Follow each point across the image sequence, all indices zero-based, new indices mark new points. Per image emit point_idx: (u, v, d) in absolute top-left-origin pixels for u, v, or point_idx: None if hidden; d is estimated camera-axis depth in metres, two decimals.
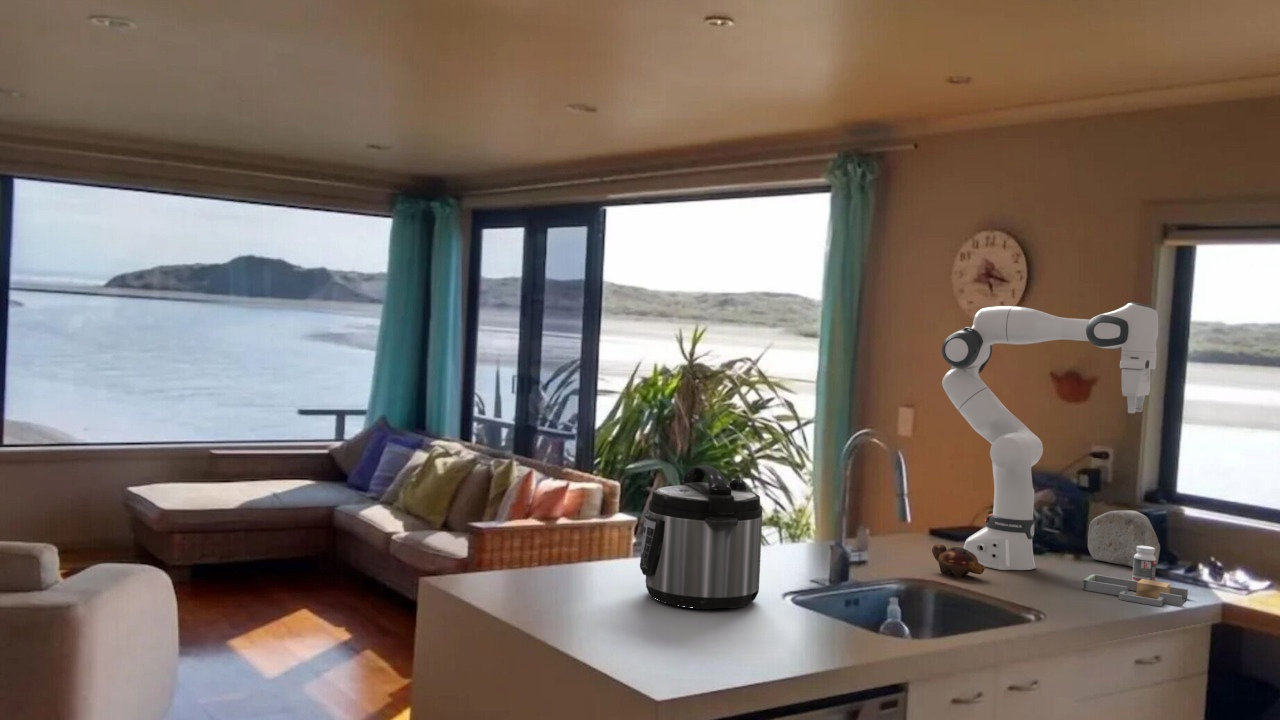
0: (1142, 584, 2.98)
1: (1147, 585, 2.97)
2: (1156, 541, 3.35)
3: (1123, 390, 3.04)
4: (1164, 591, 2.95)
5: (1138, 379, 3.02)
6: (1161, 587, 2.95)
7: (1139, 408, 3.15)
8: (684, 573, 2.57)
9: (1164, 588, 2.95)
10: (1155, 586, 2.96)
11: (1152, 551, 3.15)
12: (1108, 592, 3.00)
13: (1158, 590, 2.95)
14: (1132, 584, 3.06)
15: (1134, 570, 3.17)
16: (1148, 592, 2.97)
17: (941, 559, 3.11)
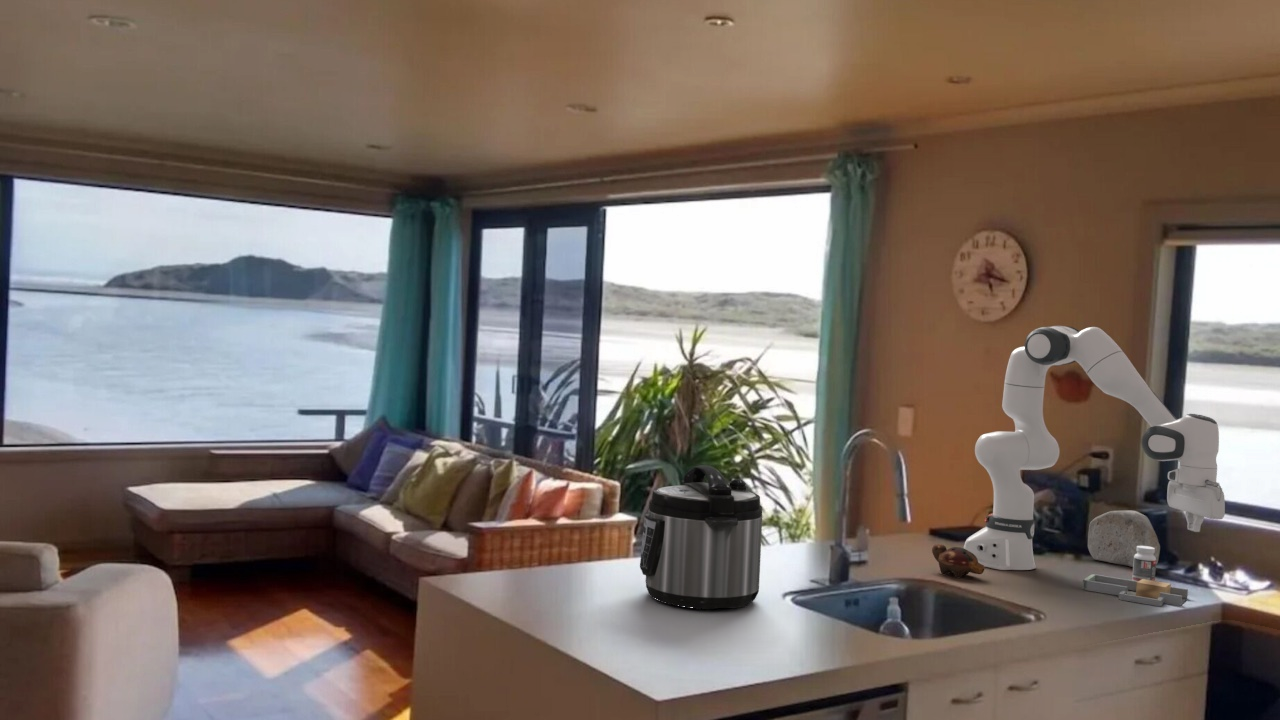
0: (1142, 584, 2.98)
1: (1146, 585, 2.97)
2: (1156, 541, 3.35)
3: None
4: (1163, 591, 2.95)
5: None
6: (1160, 587, 2.95)
7: None
8: (684, 573, 2.57)
9: (1163, 588, 2.95)
10: (1154, 586, 2.96)
11: (1152, 551, 3.15)
12: (1108, 592, 3.00)
13: (1157, 590, 2.95)
14: (1132, 584, 3.06)
15: (1134, 570, 3.17)
16: (1148, 592, 2.97)
17: (941, 559, 3.11)
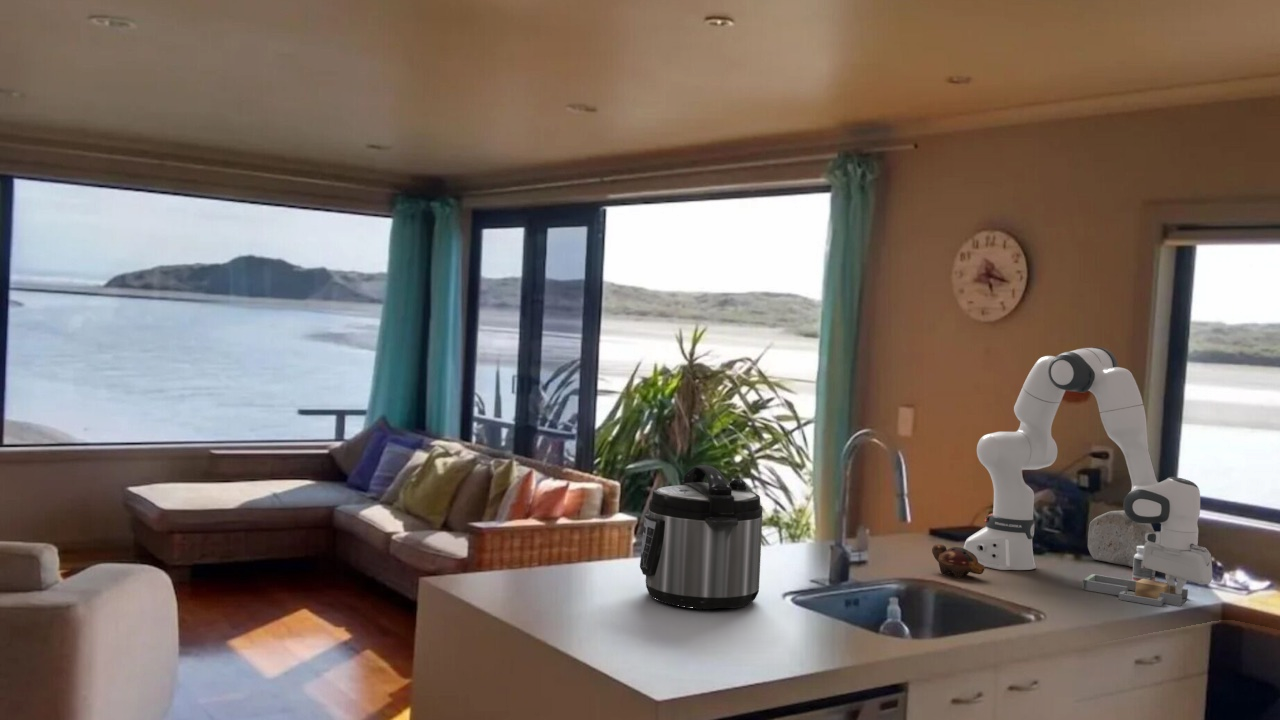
0: (1141, 583, 2.98)
1: (1145, 585, 2.97)
2: None
3: None
4: (1162, 591, 2.95)
5: None
6: (1159, 587, 2.95)
7: None
8: (684, 573, 2.57)
9: (1162, 588, 2.95)
10: (1153, 586, 2.96)
11: None
12: (1108, 592, 3.00)
13: (1156, 590, 2.95)
14: (1132, 584, 3.06)
15: (1134, 570, 3.17)
16: (1147, 591, 2.97)
17: (941, 559, 3.11)
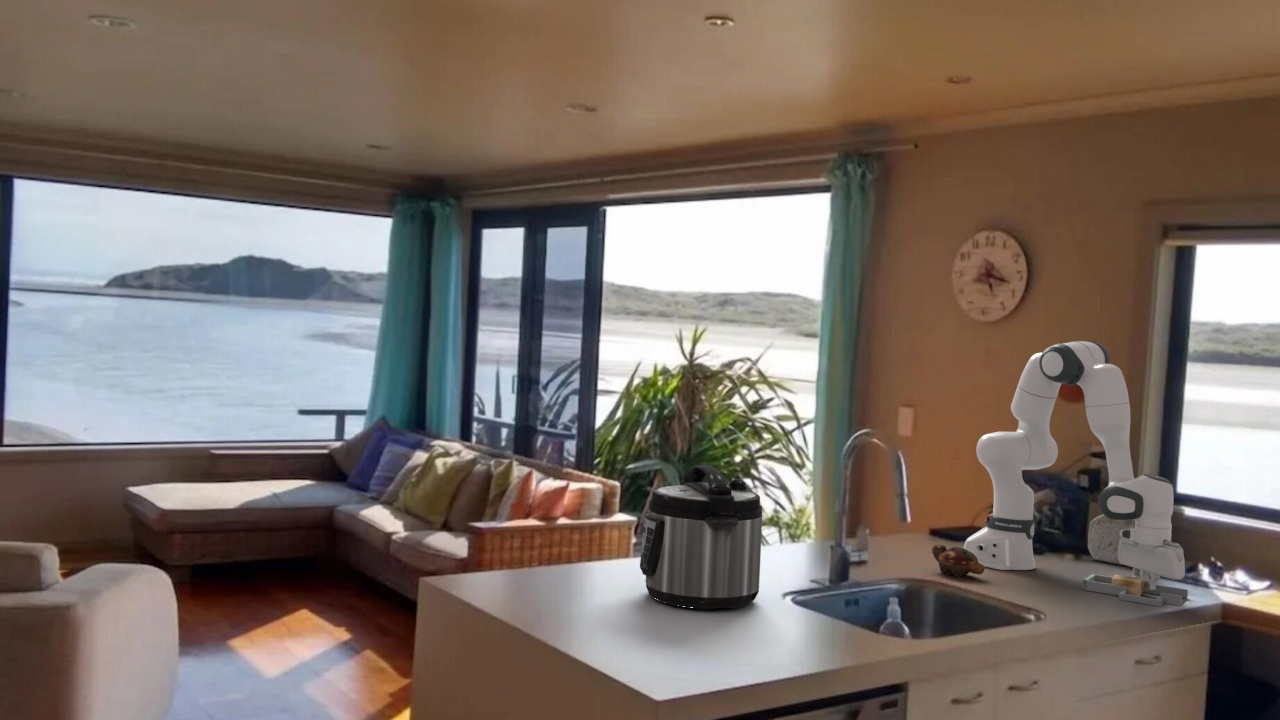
0: (1117, 580, 3.00)
1: (1122, 581, 2.99)
2: None
3: None
4: (1139, 586, 2.97)
5: None
6: (1136, 582, 2.98)
7: None
8: (684, 573, 2.57)
9: (1139, 583, 2.97)
10: (1130, 581, 2.99)
11: None
12: (1108, 592, 3.00)
13: (1133, 585, 2.98)
14: None
15: (1134, 570, 3.17)
16: None
17: (941, 559, 3.11)
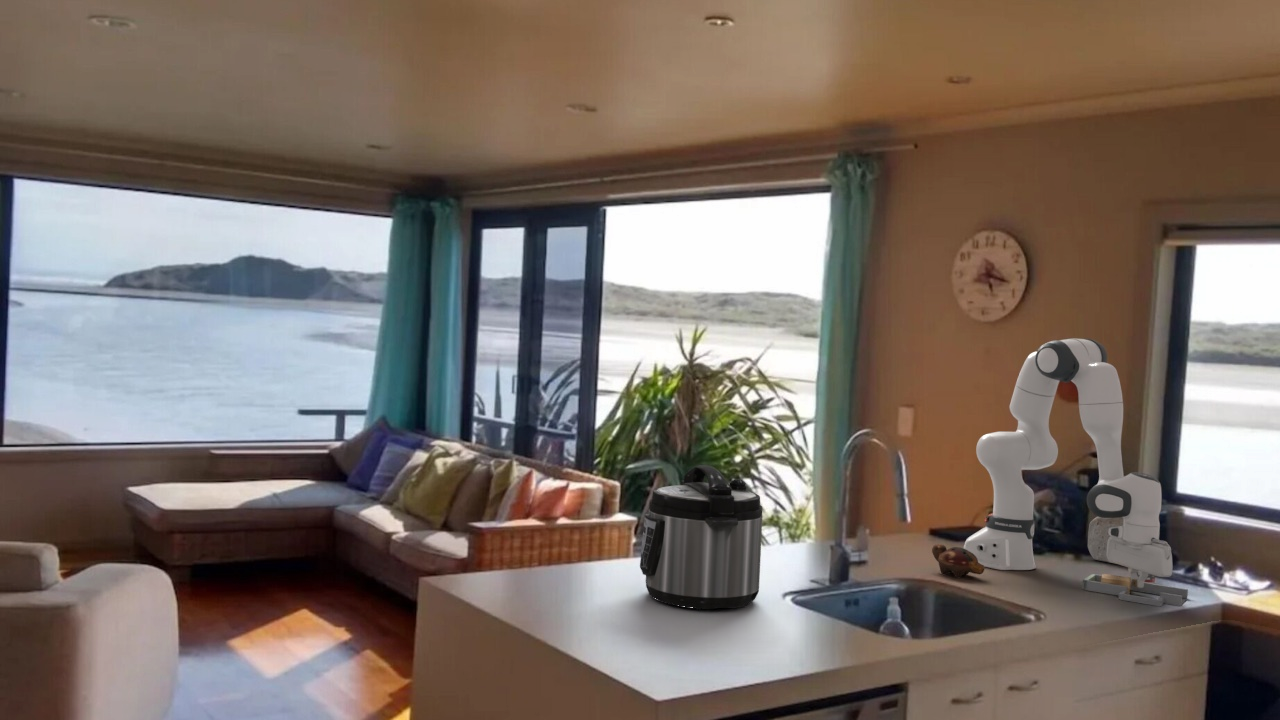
0: (1106, 579, 3.01)
1: (1111, 580, 3.01)
2: None
3: None
4: (1128, 585, 2.99)
5: None
6: (1125, 582, 2.99)
7: None
8: (684, 573, 2.57)
9: (1128, 582, 2.99)
10: (1119, 581, 3.00)
11: None
12: (1108, 592, 3.00)
13: (1122, 585, 3.00)
14: None
15: None
16: None
17: (941, 559, 3.11)
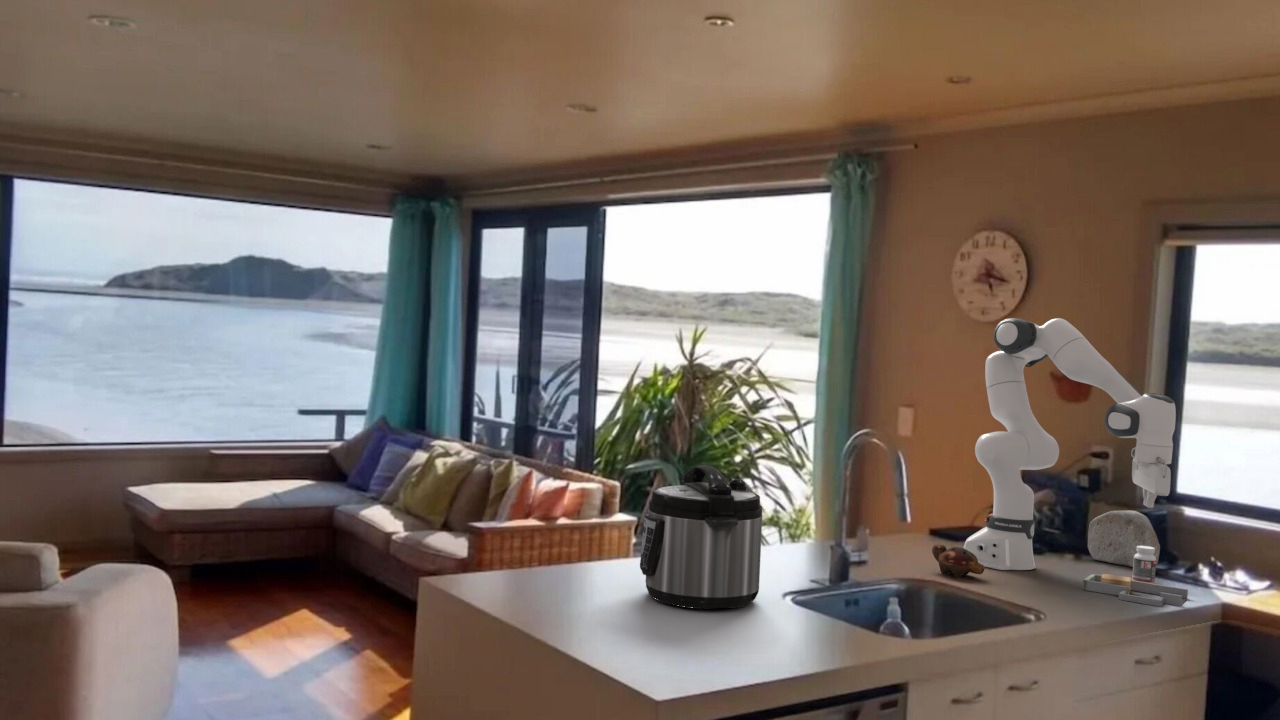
0: (1106, 579, 3.01)
1: (1111, 580, 3.01)
2: (1156, 541, 3.35)
3: None
4: (1128, 585, 2.99)
5: None
6: (1125, 582, 2.99)
7: None
8: (684, 573, 2.57)
9: (1128, 583, 2.99)
10: (1119, 581, 3.00)
11: (1152, 551, 3.15)
12: (1108, 592, 3.00)
13: (1122, 585, 3.00)
14: (1132, 584, 3.06)
15: (1134, 570, 3.17)
16: None
17: (941, 559, 3.11)
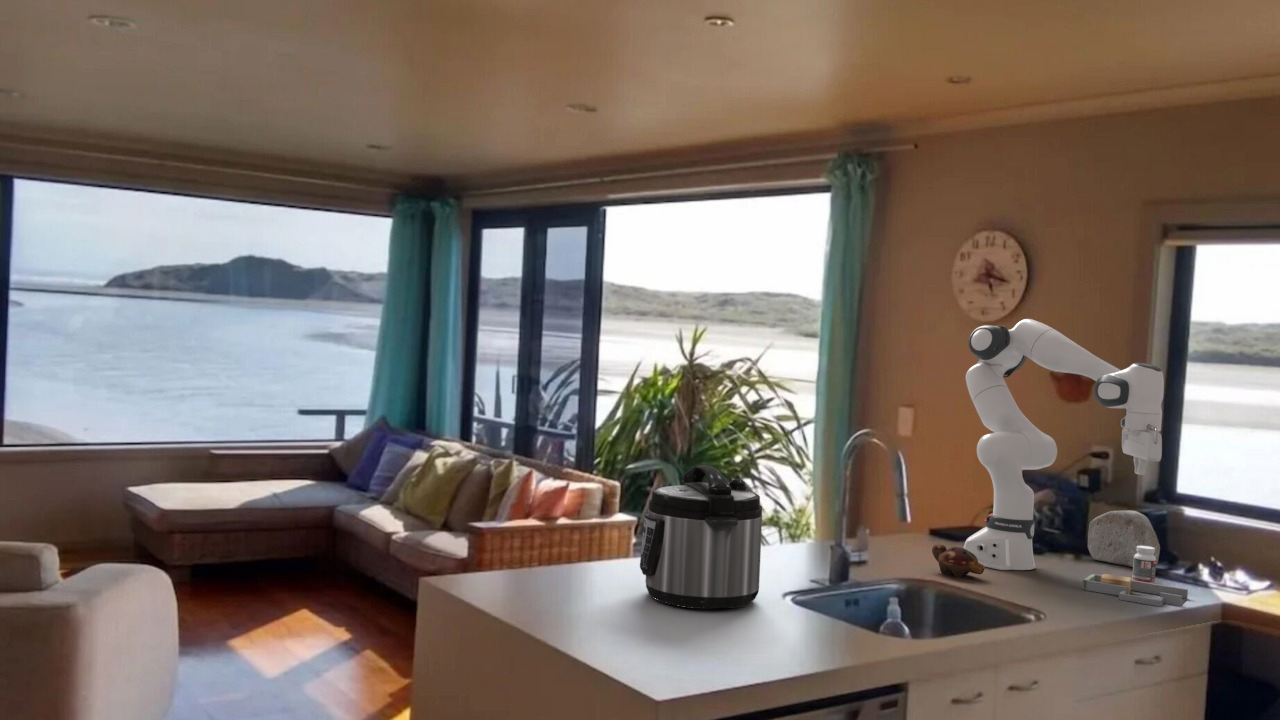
0: (1106, 579, 3.01)
1: (1111, 580, 3.01)
2: (1156, 541, 3.35)
3: None
4: (1127, 585, 2.99)
5: None
6: (1124, 582, 2.99)
7: None
8: (684, 572, 2.57)
9: (1127, 582, 2.99)
10: (1118, 581, 3.00)
11: (1152, 551, 3.15)
12: (1108, 592, 3.00)
13: (1121, 585, 3.00)
14: (1132, 584, 3.06)
15: (1134, 570, 3.17)
16: None
17: (941, 559, 3.11)
